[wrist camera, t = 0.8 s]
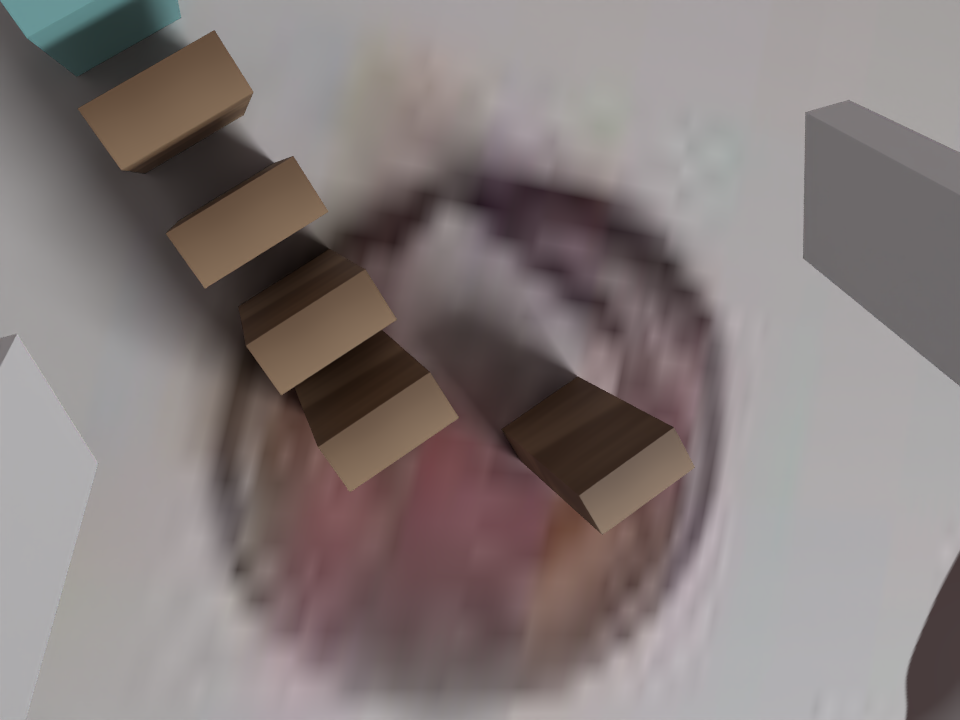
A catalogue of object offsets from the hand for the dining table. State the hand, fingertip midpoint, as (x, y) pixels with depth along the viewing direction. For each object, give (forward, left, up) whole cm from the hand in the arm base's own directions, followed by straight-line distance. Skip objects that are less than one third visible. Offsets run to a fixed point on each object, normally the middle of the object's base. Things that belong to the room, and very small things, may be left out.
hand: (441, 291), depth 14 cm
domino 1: (+11, +2, -27) cm, 29 cm away
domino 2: (+6, +2, -27) cm, 27 cm away
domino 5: (-8, +2, -27) cm, 28 cm away
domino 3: (+2, +2, -27) cm, 27 cm away
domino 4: (-3, +2, -27) cm, 27 cm away
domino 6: (-16, -6, -27) cm, 31 cm away
